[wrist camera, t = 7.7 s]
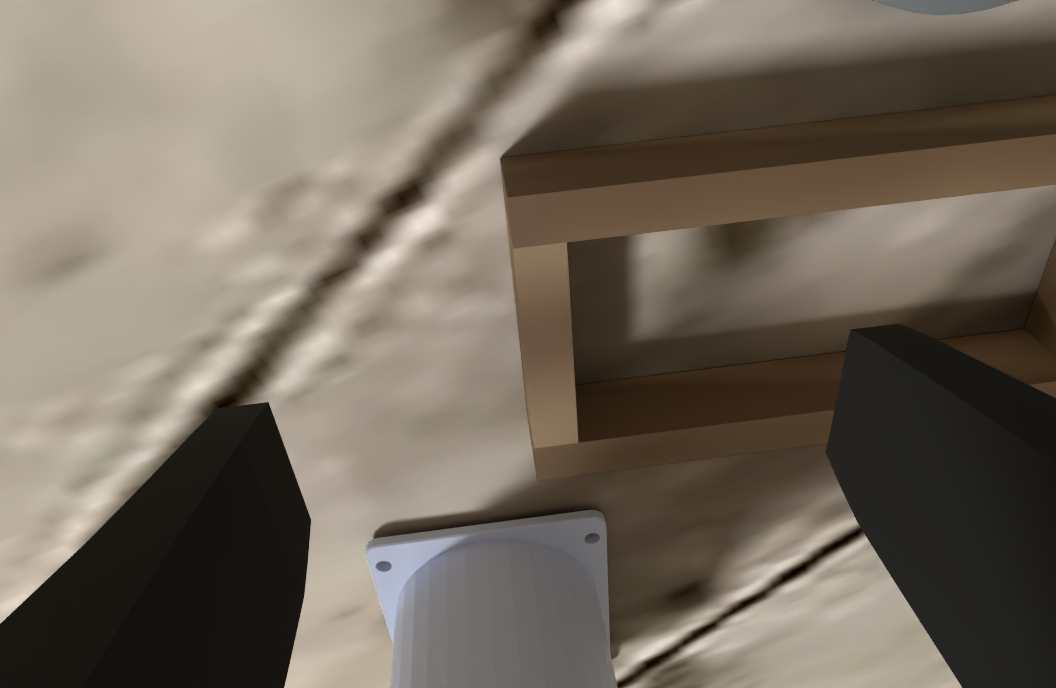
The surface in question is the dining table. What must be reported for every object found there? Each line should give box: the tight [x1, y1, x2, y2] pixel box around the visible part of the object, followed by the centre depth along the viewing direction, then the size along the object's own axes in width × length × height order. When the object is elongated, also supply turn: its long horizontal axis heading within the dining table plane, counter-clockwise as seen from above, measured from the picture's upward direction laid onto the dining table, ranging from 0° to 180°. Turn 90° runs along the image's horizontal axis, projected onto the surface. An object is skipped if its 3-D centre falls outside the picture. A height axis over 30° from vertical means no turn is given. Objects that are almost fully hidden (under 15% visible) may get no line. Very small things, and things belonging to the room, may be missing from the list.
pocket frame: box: [500, 95, 1056, 481], centre depth 19 cm, size 8×16×2 cm, turn 95°
